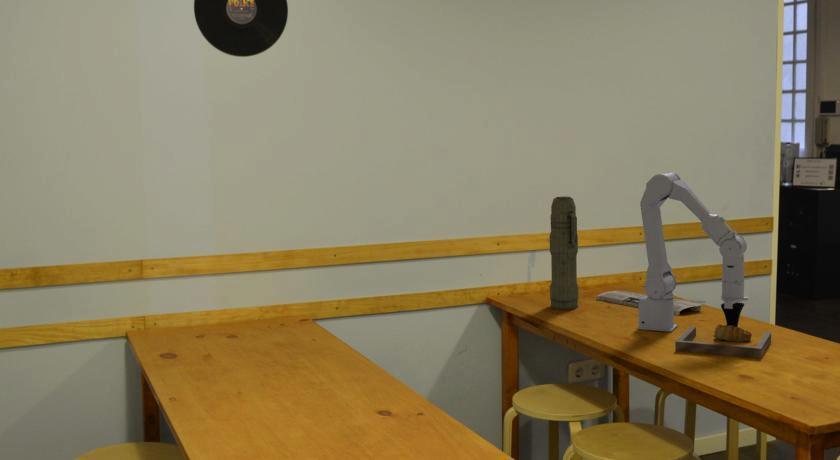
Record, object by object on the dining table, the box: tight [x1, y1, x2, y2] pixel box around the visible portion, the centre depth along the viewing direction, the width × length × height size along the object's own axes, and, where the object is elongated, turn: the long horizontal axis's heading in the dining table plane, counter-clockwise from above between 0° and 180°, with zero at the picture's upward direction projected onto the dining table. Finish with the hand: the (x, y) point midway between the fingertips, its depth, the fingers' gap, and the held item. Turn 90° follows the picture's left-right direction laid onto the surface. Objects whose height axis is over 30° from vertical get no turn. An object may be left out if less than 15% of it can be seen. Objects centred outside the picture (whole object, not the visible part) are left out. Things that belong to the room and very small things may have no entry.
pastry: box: [713, 324, 752, 343], centre depth 260 cm, size 9×7×4 cm
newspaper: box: [595, 290, 706, 316], centre depth 307 cm, size 35×12×4 cm, turn 36°
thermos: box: [549, 196, 580, 311], centre depth 306 cm, size 9×12×35 cm
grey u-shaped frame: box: [674, 325, 772, 359], centre depth 253 cm, size 21×18×2 cm
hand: (732, 329), depth 264 cm, fingers closed
